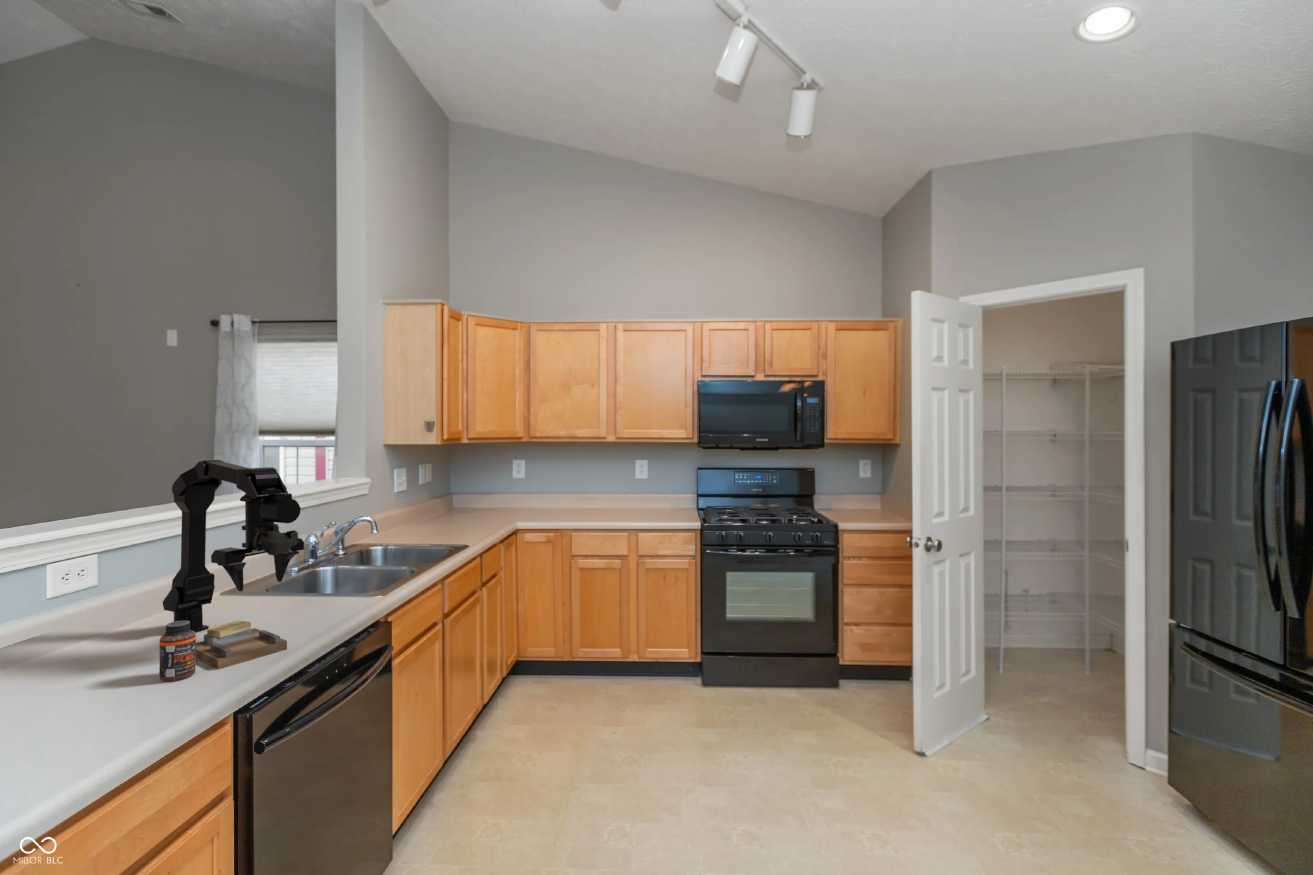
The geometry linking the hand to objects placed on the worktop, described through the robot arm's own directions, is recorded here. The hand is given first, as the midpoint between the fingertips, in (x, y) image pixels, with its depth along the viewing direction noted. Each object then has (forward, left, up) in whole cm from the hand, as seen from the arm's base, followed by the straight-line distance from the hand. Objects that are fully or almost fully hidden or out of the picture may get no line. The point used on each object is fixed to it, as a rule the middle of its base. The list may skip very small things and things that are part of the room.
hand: (260, 586), depth 141 cm
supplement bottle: (+1, -18, -15) cm, 23 cm away
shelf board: (-2, -4, -15) cm, 15 cm away
